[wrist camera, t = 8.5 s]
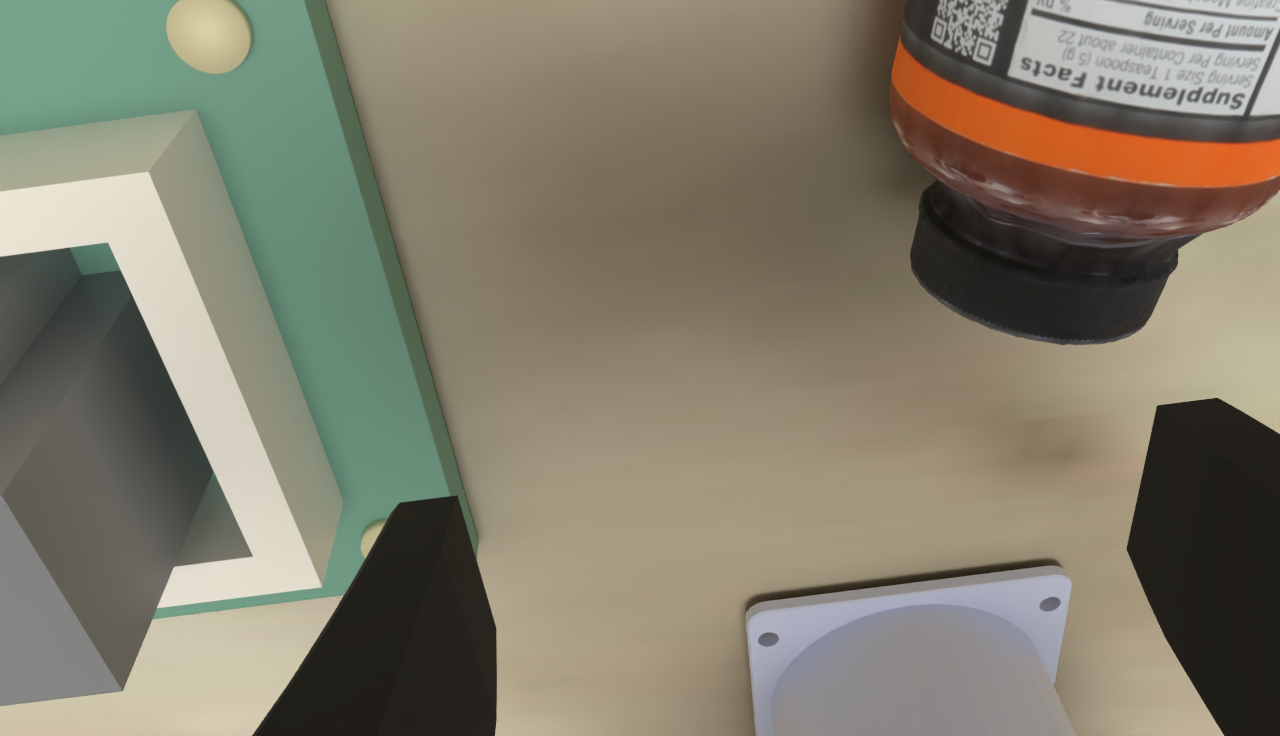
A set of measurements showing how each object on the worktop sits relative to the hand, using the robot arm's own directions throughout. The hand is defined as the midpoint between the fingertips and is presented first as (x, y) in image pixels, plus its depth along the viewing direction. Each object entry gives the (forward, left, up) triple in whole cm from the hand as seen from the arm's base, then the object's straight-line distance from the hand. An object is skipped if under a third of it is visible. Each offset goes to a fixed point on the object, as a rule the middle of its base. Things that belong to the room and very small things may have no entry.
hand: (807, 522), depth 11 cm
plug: (-2, +12, -9) cm, 15 cm away
